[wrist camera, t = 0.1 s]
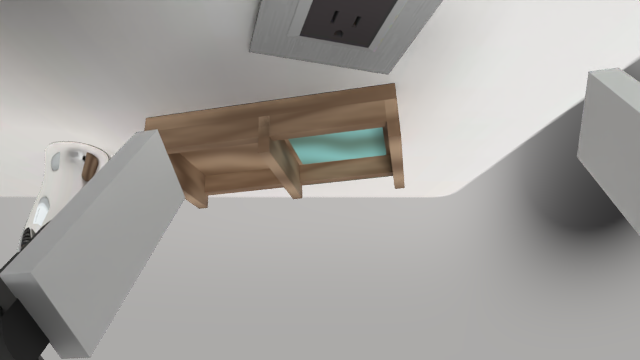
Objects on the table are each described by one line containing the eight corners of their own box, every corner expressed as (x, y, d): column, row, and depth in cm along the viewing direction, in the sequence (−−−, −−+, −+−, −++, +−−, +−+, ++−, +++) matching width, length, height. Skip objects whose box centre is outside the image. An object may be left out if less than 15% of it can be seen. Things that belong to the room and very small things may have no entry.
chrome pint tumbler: (25, 139, 45) (-11, 292, 39) (96, 138, 45) (69, 289, 39) (62, 167, 51) (35, 302, 46) (123, 166, 52) (104, 300, 46)
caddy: (146, 118, 42) (139, 167, 40) (394, 83, 38) (400, 135, 36) (203, 169, 53) (200, 209, 51) (399, 146, 49) (404, 188, 47)
